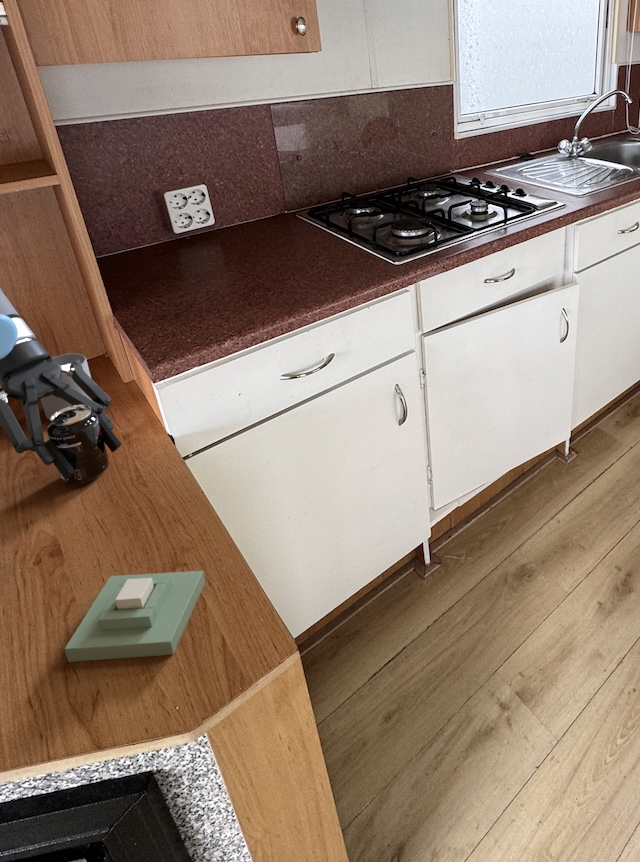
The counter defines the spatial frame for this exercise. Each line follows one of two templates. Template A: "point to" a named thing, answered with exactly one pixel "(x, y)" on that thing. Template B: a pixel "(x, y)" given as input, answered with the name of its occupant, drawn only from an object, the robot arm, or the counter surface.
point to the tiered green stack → (137, 619)
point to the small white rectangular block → (134, 594)
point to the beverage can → (79, 442)
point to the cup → (55, 403)
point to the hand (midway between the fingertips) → (94, 461)
